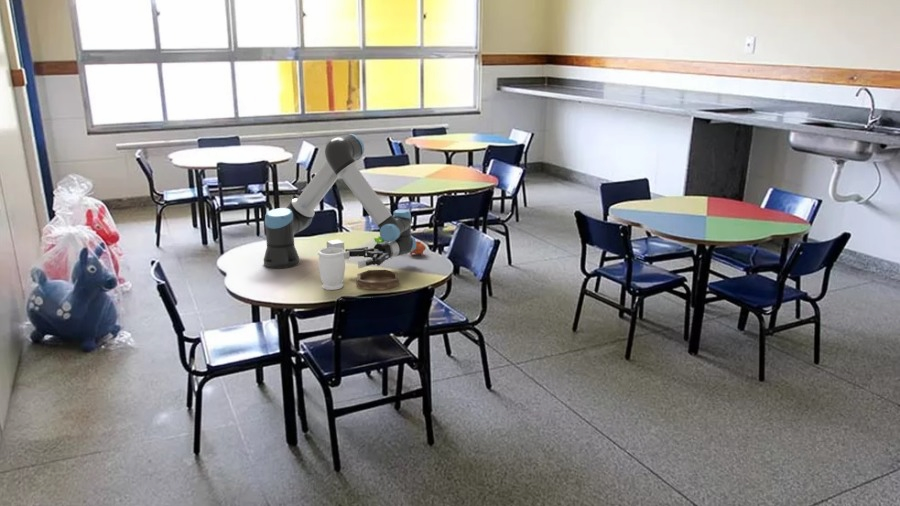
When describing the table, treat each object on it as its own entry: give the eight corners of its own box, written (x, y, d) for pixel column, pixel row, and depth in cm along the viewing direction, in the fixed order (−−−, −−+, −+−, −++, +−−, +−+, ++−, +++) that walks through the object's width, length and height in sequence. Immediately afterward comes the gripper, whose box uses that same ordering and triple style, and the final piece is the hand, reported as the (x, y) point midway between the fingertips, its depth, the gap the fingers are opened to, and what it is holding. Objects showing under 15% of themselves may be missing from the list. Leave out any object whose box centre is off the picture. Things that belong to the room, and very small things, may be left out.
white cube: (344, 255, 314) (344, 242, 313) (332, 257, 311) (331, 244, 310) (339, 251, 319) (338, 239, 317) (327, 253, 316) (326, 241, 314)
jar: (340, 292, 268) (339, 255, 263) (315, 290, 270) (313, 253, 265) (349, 283, 278) (348, 247, 273) (325, 281, 280) (323, 246, 275)
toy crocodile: (371, 244, 332) (371, 232, 330) (384, 242, 335) (383, 230, 333) (392, 254, 316) (392, 242, 314) (405, 252, 320) (404, 239, 318)
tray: (356, 290, 269) (356, 284, 269) (356, 276, 286) (356, 270, 285) (400, 289, 272) (400, 282, 271) (398, 275, 288) (397, 269, 287)
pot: (412, 257, 310) (411, 243, 310) (407, 257, 318) (405, 242, 317) (429, 255, 314) (427, 240, 313) (423, 254, 321) (421, 240, 320)
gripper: (407, 265, 285) (368, 277, 270) (366, 252, 300) (327, 263, 285) (406, 247, 283) (368, 259, 267) (365, 236, 298) (327, 246, 283)
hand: (347, 261), depth 276 cm, fingers open, 13 cm apart
